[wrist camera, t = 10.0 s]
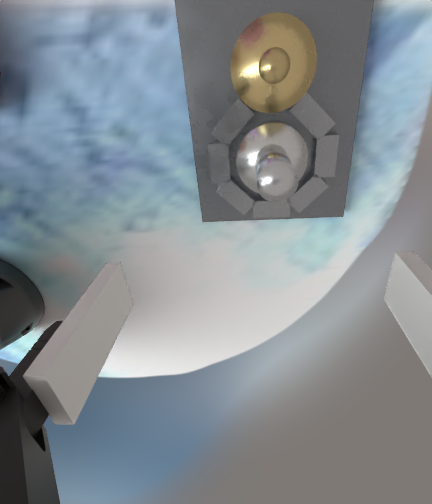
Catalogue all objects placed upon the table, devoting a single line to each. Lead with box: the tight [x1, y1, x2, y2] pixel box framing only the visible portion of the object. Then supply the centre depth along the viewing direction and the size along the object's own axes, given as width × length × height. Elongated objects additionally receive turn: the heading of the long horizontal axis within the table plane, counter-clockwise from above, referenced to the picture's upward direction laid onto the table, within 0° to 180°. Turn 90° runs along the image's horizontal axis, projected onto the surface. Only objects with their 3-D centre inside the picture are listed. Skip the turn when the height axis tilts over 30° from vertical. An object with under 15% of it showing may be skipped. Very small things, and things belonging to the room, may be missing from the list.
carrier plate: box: [175, 0, 374, 222], centre depth 29 cm, size 16×22×3 cm
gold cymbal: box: [231, 12, 317, 113], centre depth 25 cm, size 7×7×4 cm
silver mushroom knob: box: [236, 121, 308, 203], centre depth 27 cm, size 7×7×8 cm
